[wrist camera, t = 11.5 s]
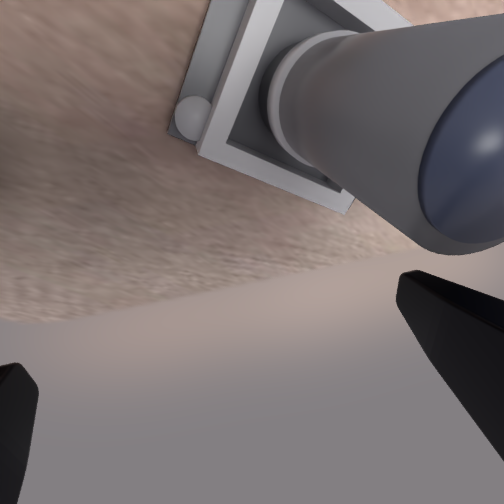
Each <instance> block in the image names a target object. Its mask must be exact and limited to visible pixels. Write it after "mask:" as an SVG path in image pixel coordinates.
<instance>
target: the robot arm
mask: <svg viewBox="0 0 504 504" xmlns="http://www.w3.org/2000/svg"><path fill="white" fill-rule="evenodd" d="M396 303H397V306H398V308H399V310H400V312H401V313H402V315H403V316H404V318H405V320H406V322H407V323H408V325H409V327H410V328H411V330H412V332H413V333H414V335H415V337H416V339H417V340H418V342H419V344H420V345H421V347H422V349H423V351H424V352H425V353H426V355H427V357H428V358H429V360H430V361H431V363H432V364H433V366H434V367H435V368H436V370H437V371H438V372H439V374H440V375H441V377H442V378H443V379H444V381H445V382H446V383H447V385H448V386H449V387H450V389H451V390H452V391H453V393H454V394H455V395H456V397H457V398H458V399H459V401H460V402H461V404H462V405H463V407H464V408H465V409H466V411H467V412H468V413H469V415H470V416H471V417H472V419H473V420H474V421H475V423H476V424H477V426H478V427H479V428H480V430H481V431H482V432H483V434H484V435H485V436H486V438H487V439H488V441H489V442H490V443H491V445H492V446H493V447H494V449H495V450H496V451H497V452H498V454H499V455H500V457H501V458H502V460H503V461H504V300H501V299H498V298H495V297H493V296H490V295H487V294H484V293H482V292H478V291H476V290H473V289H470V288H468V287H465V286H462V285H459V284H456V283H454V282H451V281H448V280H445V279H442V278H440V277H437V276H434V275H431V274H428V273H426V272H423V271H420V270H413V271H409V272H404V273H402V274H401V275H400V277H399V282H398V288H397V294H396ZM38 396H39V391H38V387H37V384H36V383H35V381H34V380H33V379H32V377H31V376H30V375H29V374H28V372H27V371H26V370H25V368H24V367H23V366H22V365H21V364H20V363H10V364H6V365H1V366H0V504H17V502H18V498H19V494H20V491H21V487H22V483H23V480H24V476H25V471H26V467H27V462H28V457H29V451H30V446H31V439H32V433H33V427H34V420H35V415H36V409H37V403H38Z"/></svg>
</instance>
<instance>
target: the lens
mask: <svg viewBox="0 0 504 504" xmlns="http://www.w3.org/2000/svg"><path fill="white" fill-rule="evenodd" d="M259 106H260V112H261V116H262V119H263V122H264V124H265V126H266V127H267V129H268V130H269V132H270V133H271V134H272V135H273V136H274V137H275V139H276V140H277V142H278V143H279V144H280V146H281V147H282V148H283V149H284V150H285V151H287V152H288V153H289V154H290V155H292V156H293V157H294V158H295V159H297V160H298V161H300V162H302V163H303V164H306V165H308V166H311V167H315V168H316V169H318V170H319V171H320V172H322V173H323V174H324V175H326V176H327V177H328V178H330V179H331V180H332V181H334V182H335V183H336V184H338V185H339V186H340V187H342V188H343V189H344V190H346V191H347V192H349V193H350V194H351V195H353V196H354V197H355V198H357V199H358V200H359V201H361V202H362V203H363V204H365V205H366V206H367V207H369V208H370V209H371V210H373V211H374V212H375V213H377V214H378V215H379V216H381V217H382V218H383V219H385V220H386V221H387V222H389V223H390V224H391V225H393V226H394V227H395V228H397V229H398V230H399V231H401V232H402V233H403V234H405V235H406V236H407V237H409V238H410V239H411V240H413V241H414V242H416V243H417V244H418V245H420V246H421V247H423V248H425V249H427V250H429V251H431V252H435V253H437V254H444V255H465V254H471V253H475V252H479V251H483V250H486V249H488V248H491V247H494V246H496V245H498V244H500V243H502V242H504V13H503V14H496V15H489V16H482V17H475V18H468V19H460V20H453V21H446V22H439V23H432V24H425V25H417V26H410V27H403V28H396V29H389V30H382V31H374V32H367V33H357V32H354V31H349V30H338V31H331V32H326V33H320V34H316V35H313V36H310V37H308V38H306V39H304V40H303V41H301V42H298V43H295V44H293V45H291V46H289V47H287V48H285V49H284V50H283V51H281V52H280V53H279V54H278V55H277V56H276V57H275V58H274V59H273V60H272V62H271V63H270V65H269V66H268V68H267V70H266V72H265V74H264V76H263V79H262V82H261V86H260V93H259Z"/></svg>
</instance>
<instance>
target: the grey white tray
mask: <svg viewBox="0 0 504 504" xmlns="http://www.w3.org/2000/svg"><path fill="white" fill-rule="evenodd" d="M410 26H414V25H412V24H411V23H410V22H409V21H407V20H406V19H405V18H404V17H402V16H401V15H400V14H398V13H397V12H396V11H395V10H393V9H392V8H391V7H390V6H388V5H387V4H386V3H385V2H383V1H382V0H210V3H209V6H208V9H207V12H206V15H205V18H204V21H203V24H202V27H201V30H200V34H199V37H198V40H197V43H196V46H195V49H194V52H193V55H192V58H191V61H190V64H189V67H188V70H187V73H186V76H185V79H184V82H183V85H182V88H181V91H180V94H179V97H178V100H177V103H176V106H175V109H174V112H173V115H172V118H171V121H170V124H169V127H168V133H167V134H169V135H172V136H174V137H176V138H179V139H181V140H184V141H186V142H188V143H191V144H193V145H195V146H196V149H197V153H198V155H199V156H202V157H204V158H207V159H209V160H212V161H214V162H216V163H219V164H221V165H224V166H226V167H229V168H231V169H234V170H236V171H238V172H241V173H243V174H246V175H248V176H251V177H253V178H256V179H258V180H260V181H263V182H265V183H268V184H270V185H273V186H275V187H278V188H280V189H282V190H285V191H287V192H290V193H292V194H295V195H297V196H300V197H302V198H304V199H307V200H309V201H312V202H314V203H317V204H319V205H322V206H324V207H326V208H329V209H331V210H334V211H336V212H339V213H341V214H344V215H345V213H346V211H347V210H348V209H349V208H350V206H351V204H352V203H353V201H354V199H355V197H354V196H353V195H351V194H350V193H349V192H347V191H346V190H344V189H343V188H342V187H340V186H339V185H338V184H336V183H335V182H334V181H332V180H331V179H330V178H328V177H327V176H326V175H324V174H323V173H322V172H320V171H319V170H318V169H316V168H315V167H311V166H308V165H306V164H303V163H302V162H300V161H298V160H297V159H295V158H294V157H293V156H292V155H290V154H289V153H288V152H287V151H285V150H284V149H283V148H282V147H281V146H280V144H279V143H278V142H277V140H276V139H275V137H274V136H273V135H272V134H271V133H270V132H269V130H268V129H267V127H266V126H265V124H264V122H263V119H262V116H261V112H260V106H259V93H260V86H261V82H262V79H263V76H264V74H265V72H266V70H267V68H268V66H269V65H270V63H271V62H272V60H273V59H274V58H275V57H276V56H277V55H278V54H279V53H280V52H281V51H283V50H284V49H285V48H287V47H289V46H291V45H293V44H295V43H298V42H301V41H303V40H304V39H306V38H308V37H310V36H313V35H316V34H320V33H326V32H331V31H338V30H349V31H354V32H357V33H367V32H374V31H382V30H389V29H396V28H403V27H410Z"/></svg>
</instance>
